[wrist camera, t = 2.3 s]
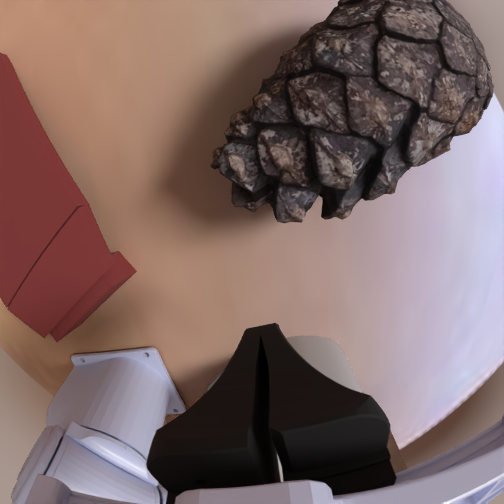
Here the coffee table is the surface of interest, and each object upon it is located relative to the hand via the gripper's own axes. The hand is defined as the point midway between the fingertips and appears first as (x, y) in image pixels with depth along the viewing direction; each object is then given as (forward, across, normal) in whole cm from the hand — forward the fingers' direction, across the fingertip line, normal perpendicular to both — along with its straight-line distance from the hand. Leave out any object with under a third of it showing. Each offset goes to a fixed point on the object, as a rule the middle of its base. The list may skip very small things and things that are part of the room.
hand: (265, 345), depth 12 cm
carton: (+10, +18, -11) cm, 23 cm away
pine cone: (+10, -8, -9) cm, 15 cm away
